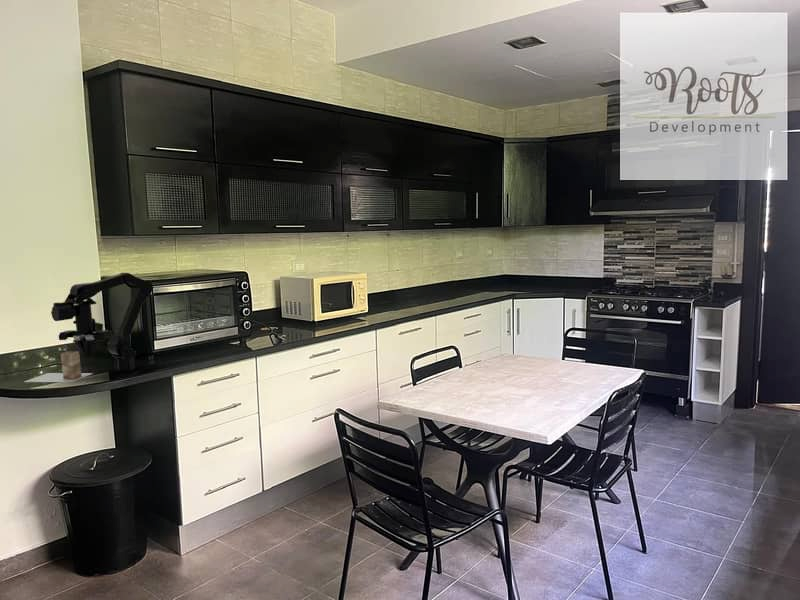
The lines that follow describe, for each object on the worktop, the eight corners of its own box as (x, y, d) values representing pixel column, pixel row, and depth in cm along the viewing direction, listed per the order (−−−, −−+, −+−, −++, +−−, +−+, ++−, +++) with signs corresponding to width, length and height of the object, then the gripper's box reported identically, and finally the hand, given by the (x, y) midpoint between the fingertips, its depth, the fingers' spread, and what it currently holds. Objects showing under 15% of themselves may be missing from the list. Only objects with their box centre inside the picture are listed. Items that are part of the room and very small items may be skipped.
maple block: (81, 376, 231) (78, 351, 230) (73, 379, 227) (71, 354, 225) (71, 376, 232) (68, 351, 230) (63, 379, 227) (60, 354, 226)
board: (93, 375, 236) (93, 373, 236) (71, 384, 223) (71, 382, 223) (48, 375, 238) (47, 373, 238) (23, 384, 226) (23, 381, 225)
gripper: (118, 313, 232) (122, 352, 234) (75, 313, 234) (79, 352, 236) (101, 318, 221) (105, 358, 223) (55, 318, 223) (60, 358, 225)
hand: (87, 356), depth 227 cm, fingers closed
